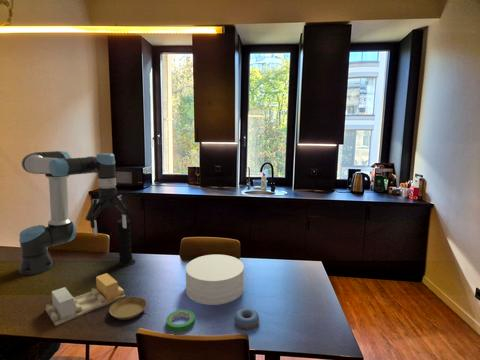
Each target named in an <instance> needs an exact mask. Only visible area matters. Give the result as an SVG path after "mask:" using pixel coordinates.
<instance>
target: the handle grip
mask: <svg viewBox="0 0 480 360" xmlns="http://www.w3.org/2000/svg"><path fill="white" fill-rule="evenodd" d="M116 223H117V238H118V239H117V240H118V253H119V255H118V257H119V261H117V263H116V266H117V265H118V267H120V266H122V267H124V266H126V267H129V265H130V266H133V265H134V264H135V263H136V260H135V259H134V258H133V251H132V234H131V230H132V229H131V219H129V218H128V221H126V226H127V228H123V224H122V219H119V220H117V221H116ZM124 268H125V267H124Z"/></svg>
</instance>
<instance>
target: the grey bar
mask: <svg viewBox="0 0 480 360" xmlns="http://www.w3.org/2000/svg"><path fill="white" fill-rule="evenodd" d="M73 297H74V296H73V295H72V294H71V293H70V292H69V290H68V288H67V287H66V286H64V287H61V288H58V289H54V290H52V291H51V298H52V299H51V300H52V305H53V307H54V309H55V310H56V312H57V313H58V315H59V316H60V318H61V319H63V318H65V317H68V316H70V315H73V314H75V307H74V298H73Z"/></svg>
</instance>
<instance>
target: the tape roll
mask: <svg viewBox="0 0 480 360" xmlns="http://www.w3.org/2000/svg"><path fill="white" fill-rule="evenodd" d="M178 318H186V319H188V321H186V322H184V323H178V324H177V323H174V322H173V321H174V320H176V319H178ZM195 323H196V316H195V313H194V312H193V311H191V310H188V309H177V310H174V311H172V312H171V313H169V314H168V315H167V317H166V320H165V324H166V325H165V326H166V328H167V330H168V331H169V332H172V333H176V334H180V333H184V332H188V331H189V330H190V329H192V328H193V327H194V326H195Z"/></svg>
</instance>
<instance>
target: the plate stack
mask: <svg viewBox="0 0 480 360" xmlns="http://www.w3.org/2000/svg"><path fill="white" fill-rule="evenodd" d="M244 276H245V265H244V263H243V262H242V260H241V259H239V258H237V257H235V256H231V255H227V254H205V255H202V256H198V257H196V258H194V259H192V260H190V261H189V262H188V263H187V264H186V266H185V292H186V296H187V297H188V298H189V299H191V300H192V301H194V302H196V303H198V304H201V305H209V306H210V305H211V306H219V305H224V304H228V303H230V302H234V301H235V300H237V299H239V297H241V296H242V294H243V292H244V290H245V287H244V286H245V285H244V283H245V281H244V280H245V279H244V278H245V277H244Z"/></svg>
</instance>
